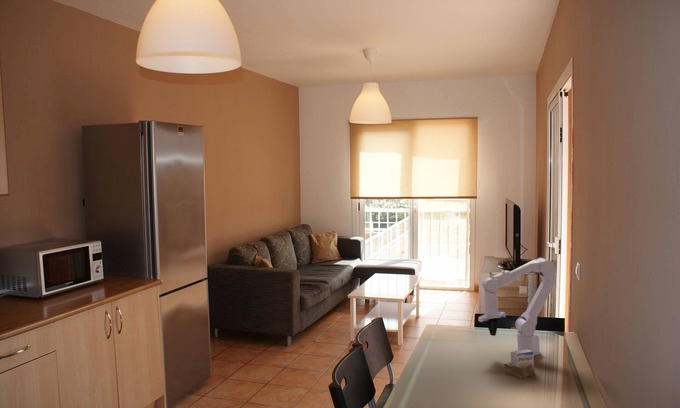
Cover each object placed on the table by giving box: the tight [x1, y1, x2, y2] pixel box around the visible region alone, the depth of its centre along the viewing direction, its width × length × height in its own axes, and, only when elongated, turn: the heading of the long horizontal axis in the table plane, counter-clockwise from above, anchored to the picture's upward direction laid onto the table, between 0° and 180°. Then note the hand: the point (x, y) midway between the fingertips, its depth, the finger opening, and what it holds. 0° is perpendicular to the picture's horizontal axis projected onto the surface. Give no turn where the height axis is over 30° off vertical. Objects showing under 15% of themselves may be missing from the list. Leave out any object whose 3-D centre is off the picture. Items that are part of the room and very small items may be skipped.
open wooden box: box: [503, 361, 535, 379], centre depth 219 cm, size 7×9×4 cm
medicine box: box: [510, 349, 535, 368], centre depth 219 cm, size 8×4×9 cm, turn 107°
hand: (493, 335), depth 242 cm, fingers closed
